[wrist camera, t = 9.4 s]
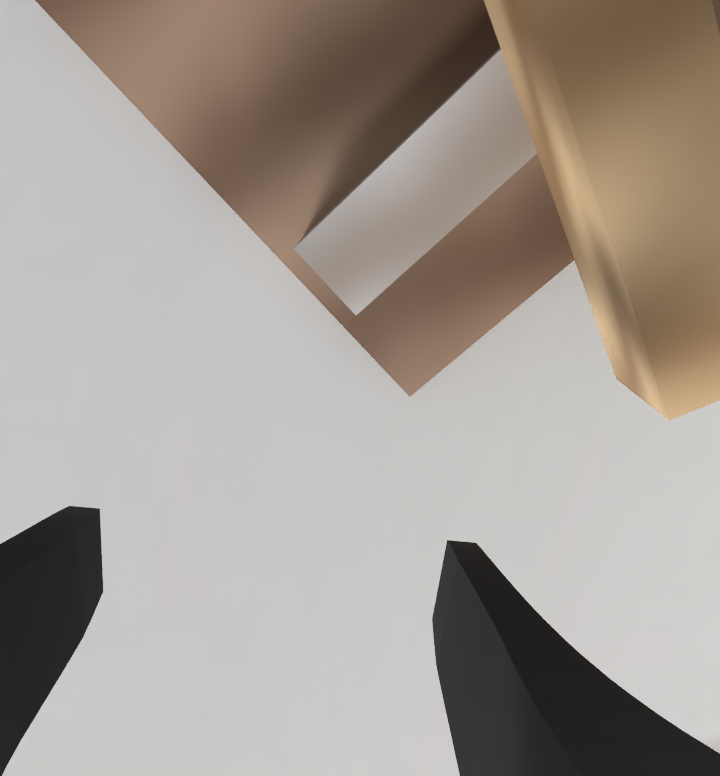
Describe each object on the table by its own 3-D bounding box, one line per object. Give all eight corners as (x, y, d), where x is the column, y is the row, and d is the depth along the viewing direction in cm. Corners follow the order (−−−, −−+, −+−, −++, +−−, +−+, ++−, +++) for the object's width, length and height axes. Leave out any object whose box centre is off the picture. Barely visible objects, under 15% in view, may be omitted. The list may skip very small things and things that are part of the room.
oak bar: (721, 333, 16) (798, 367, 13) (616, 378, 17) (669, 420, 14) (517, -402, 11) (572, -593, 8) (374, -312, 12) (381, -465, 9)
